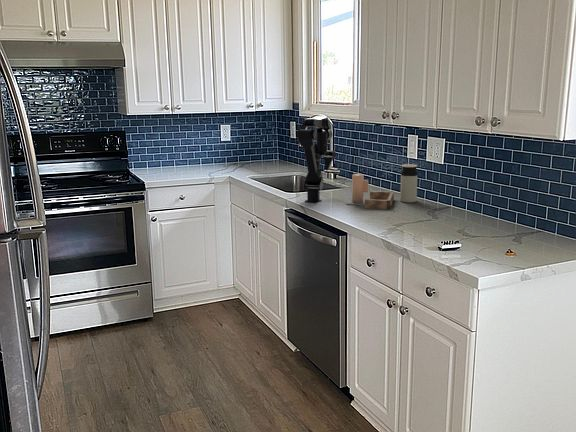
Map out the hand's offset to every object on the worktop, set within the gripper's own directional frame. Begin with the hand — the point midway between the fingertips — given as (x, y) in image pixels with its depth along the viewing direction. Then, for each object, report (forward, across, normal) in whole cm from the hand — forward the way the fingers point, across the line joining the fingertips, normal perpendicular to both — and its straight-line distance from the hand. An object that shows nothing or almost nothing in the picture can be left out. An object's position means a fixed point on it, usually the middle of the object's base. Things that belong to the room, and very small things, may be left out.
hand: (321, 171), depth 296 cm
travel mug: (+13, -11, +44) cm, 47 cm away
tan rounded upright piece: (+13, +5, +26) cm, 29 cm away
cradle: (+13, +2, +35) cm, 37 cm away
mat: (+13, +6, +25) cm, 29 cm away
